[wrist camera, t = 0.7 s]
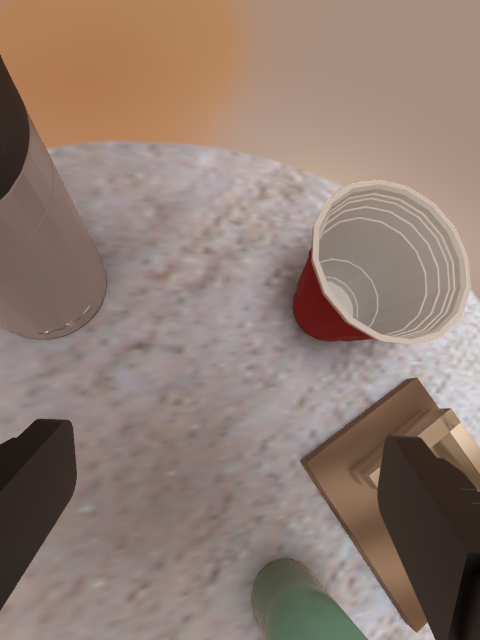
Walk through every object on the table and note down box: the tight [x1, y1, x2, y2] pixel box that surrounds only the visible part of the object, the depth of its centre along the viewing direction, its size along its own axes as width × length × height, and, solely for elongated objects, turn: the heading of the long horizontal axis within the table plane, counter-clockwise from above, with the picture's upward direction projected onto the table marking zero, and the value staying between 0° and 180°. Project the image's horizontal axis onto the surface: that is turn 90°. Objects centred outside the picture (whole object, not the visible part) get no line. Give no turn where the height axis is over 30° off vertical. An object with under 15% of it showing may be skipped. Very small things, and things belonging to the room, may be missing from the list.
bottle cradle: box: [301, 378, 480, 632], centre depth 29 cm, size 14×12×5 cm
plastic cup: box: [293, 179, 471, 346], centre depth 29 cm, size 11×11×12 cm
